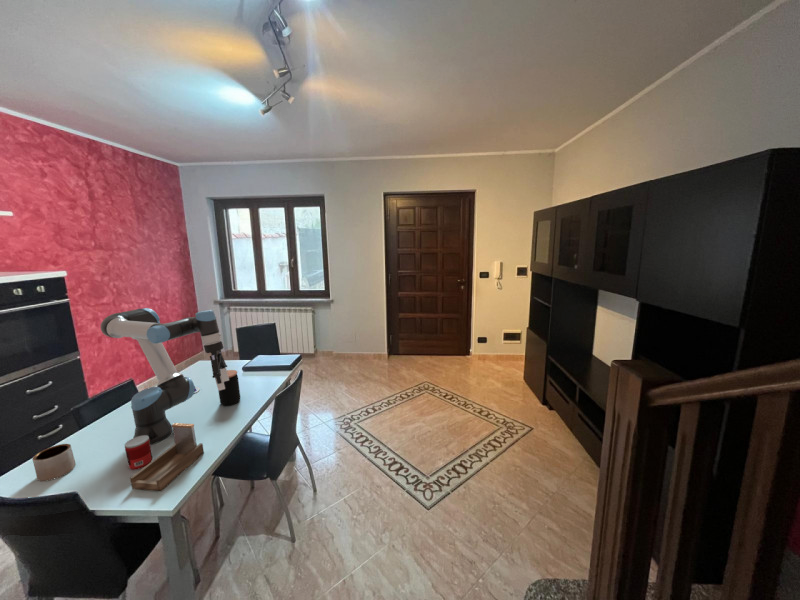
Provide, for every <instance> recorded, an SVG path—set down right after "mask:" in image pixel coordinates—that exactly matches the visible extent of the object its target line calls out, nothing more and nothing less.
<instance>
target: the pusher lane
mask: <svg viewBox="0 0 800 600" xmlns="http://www.w3.org/2000/svg"><path fill="white" fill-rule="evenodd" d="M203 454H205V451H204V445H203V443H201V442H200V443H198V444H197V446H196V447H195V448H194V449H193V450H192V451H190V452H189V453H188V454H178V453H177V450H176V444H175V443H174V444H173V445H171V446H170V447H169V448H166V450H165V451H164V452H162V453H161V454H159V456H157V457H156V458H154V459H152V461H151V462H150V463H149V464H148V465H147V466H145V467H143V468H140V469H139V471H137V472H136V473H135V474H133V475H132V476H131V477H130V479H129V480H130V485H131V489H132V490H139V491H151V492H160V493H161V492H163V491H164V490H165V489H166V488H167V487H168V486H169V485H170V484H172V483H173V481H175V480H176V479H177V478H178V477H179V476H180V475H181V474H183V473H184V471H186V470H187V469H188V468H189V467H191V465H193V464H194V463H195V461H197V460H198V459H199V458H200V457H202V456H203Z"/></svg>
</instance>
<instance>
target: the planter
mask: <svg viewBox="0 0 800 600" xmlns="http://www.w3.org/2000/svg"><path fill="white" fill-rule="evenodd" d="M32 462H33V463H32V464H33V467H34V471H35V475H36V478H37V480H38V481H39V480H40V482H44V481H45V482H46V480H48V481H52V480H51V479H53V480H55V479H54V478H56V479H58V478H60V476H61V477H63V476H65V475H66V473H67V474H68V473H70V472H71V471H72V470H73V469H74V468H75V467H76V465H77V464H76V460H75V457H74V452H73V449H72V445H71V444H70V443H60V444H57V445H56V444H55V445H53V446H50V447H47V448H45V449H43V450H41V451H39V452H37V453H36V454H35V455H34V456H32ZM64 474H65V475H64ZM62 475H63V476H62ZM57 477H58V478H57Z"/></svg>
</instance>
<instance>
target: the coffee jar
mask: <svg viewBox="0 0 800 600" xmlns="http://www.w3.org/2000/svg"><path fill="white" fill-rule="evenodd" d="M226 370H227V369H226ZM227 374H228V377H229V381H225V382H224V386H225V389H223V390H220V391H218V398H219V403H220V405H222V407H224V406H225V407H229V406H234V405H236V404H237V403H239V402H240V400H241V390H240V384H239V376H238V370H235V369H228V370H227Z"/></svg>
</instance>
